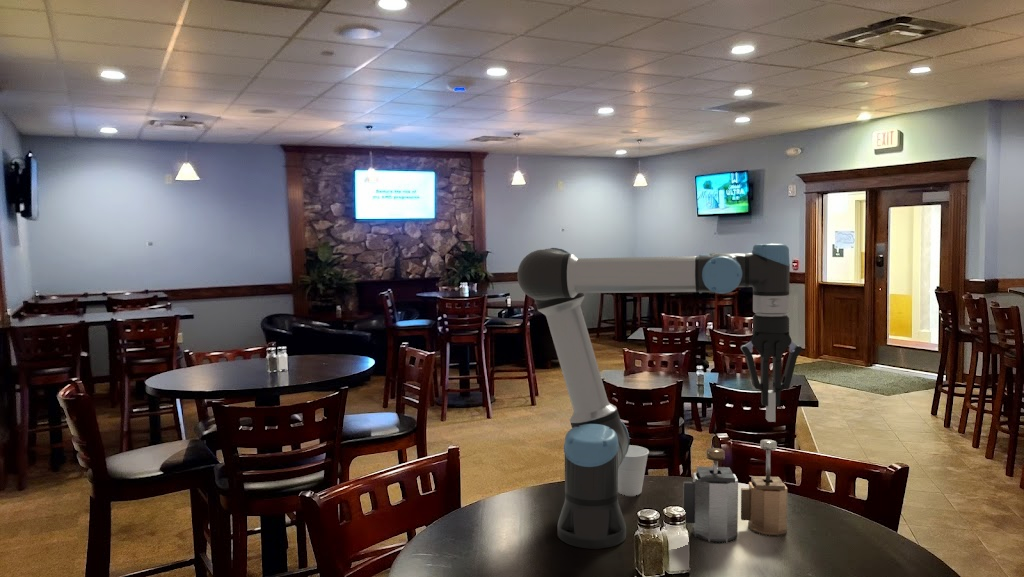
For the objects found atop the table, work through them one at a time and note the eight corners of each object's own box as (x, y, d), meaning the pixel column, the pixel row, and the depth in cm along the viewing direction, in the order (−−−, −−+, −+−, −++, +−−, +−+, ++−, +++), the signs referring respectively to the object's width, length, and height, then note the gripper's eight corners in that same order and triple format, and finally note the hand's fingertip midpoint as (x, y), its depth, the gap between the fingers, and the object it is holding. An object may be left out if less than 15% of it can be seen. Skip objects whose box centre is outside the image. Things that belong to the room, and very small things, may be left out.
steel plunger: (700, 513, 157) (701, 455, 156) (696, 501, 164) (697, 445, 163) (734, 514, 156) (734, 456, 155) (728, 502, 163) (729, 446, 162)
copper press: (781, 522, 166) (782, 475, 165) (790, 537, 158) (791, 488, 157) (737, 520, 167) (738, 474, 167) (744, 535, 159) (745, 486, 159)
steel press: (733, 526, 164) (734, 465, 163) (741, 544, 155) (741, 480, 154) (681, 524, 166) (681, 464, 165) (685, 542, 156) (686, 478, 155)
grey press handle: (757, 494, 159) (757, 445, 159) (751, 485, 165) (752, 437, 164) (784, 495, 159) (785, 446, 158) (778, 486, 164) (779, 438, 164)
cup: (609, 498, 183) (609, 455, 182) (610, 484, 192) (610, 444, 191) (649, 500, 181) (649, 457, 180) (648, 486, 191) (648, 445, 190)
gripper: (743, 316, 156) (743, 424, 158) (806, 315, 154) (805, 425, 156) (737, 312, 163) (737, 415, 165) (797, 312, 162) (796, 416, 163)
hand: (770, 420), depth 161 cm, fingers closed
